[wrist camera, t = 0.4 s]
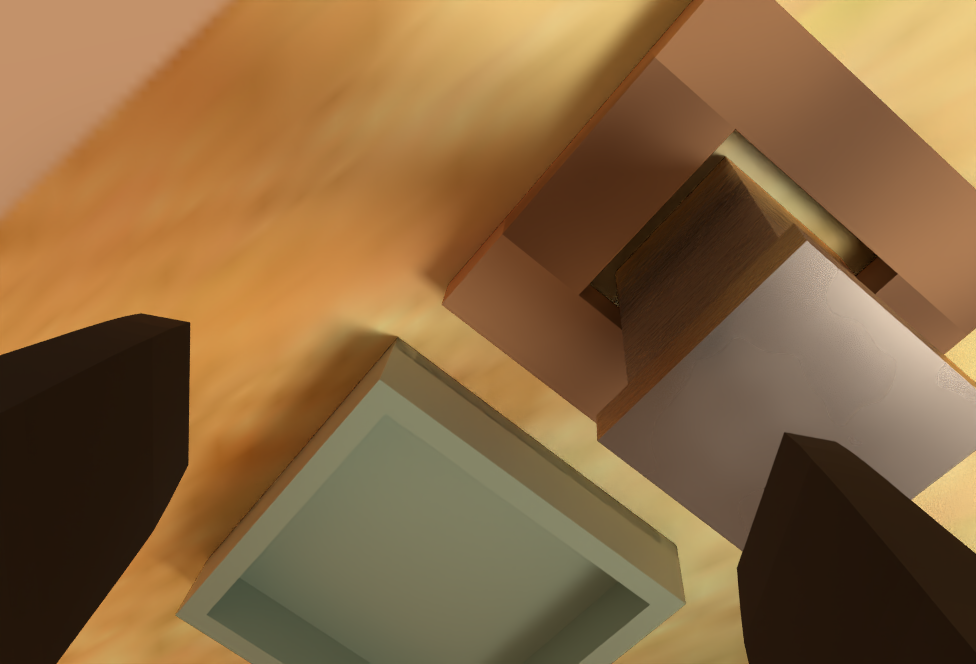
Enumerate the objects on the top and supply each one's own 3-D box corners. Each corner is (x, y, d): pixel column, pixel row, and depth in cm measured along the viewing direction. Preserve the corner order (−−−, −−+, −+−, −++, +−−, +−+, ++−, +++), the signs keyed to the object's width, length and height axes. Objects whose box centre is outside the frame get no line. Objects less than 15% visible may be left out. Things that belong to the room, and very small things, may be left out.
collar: (1027, 243, 19) (1054, 263, 18) (726, 499, 23) (733, 528, 21) (726, -40, 17) (735, -37, 16) (448, 284, 21) (441, 304, 20)
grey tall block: (866, 254, 20) (1013, 421, 13) (725, 383, 21) (793, 589, 15) (726, 129, 19) (807, 241, 12) (590, 273, 20) (597, 441, 14)
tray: (676, 545, 23) (685, 603, 21) (462, 726, 27) (453, 791, 25) (397, 337, 21) (379, 379, 20) (207, 560, 25) (175, 615, 23)
